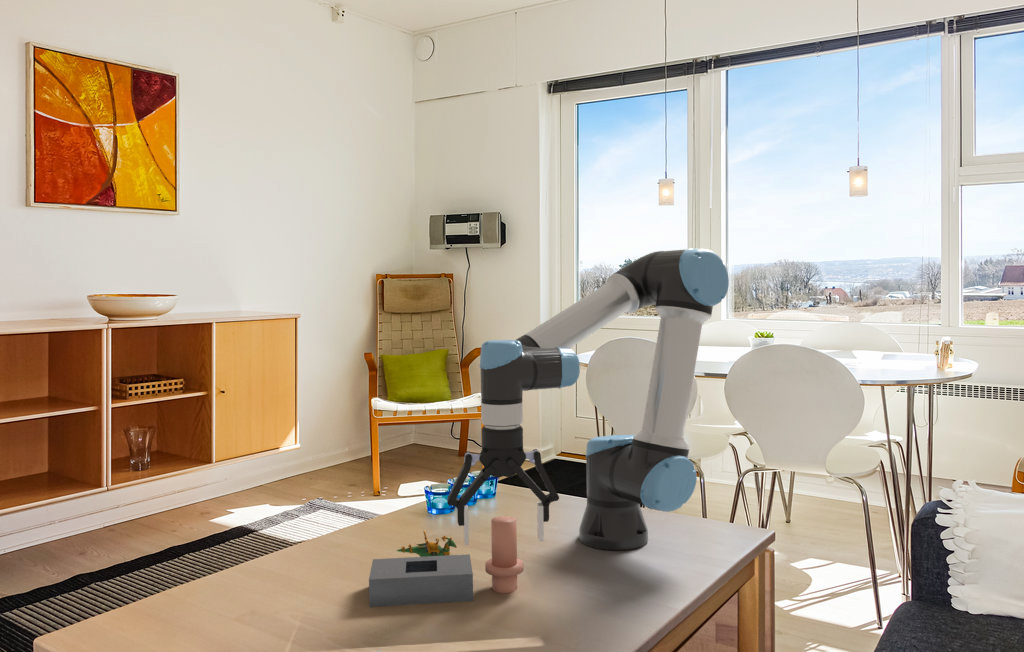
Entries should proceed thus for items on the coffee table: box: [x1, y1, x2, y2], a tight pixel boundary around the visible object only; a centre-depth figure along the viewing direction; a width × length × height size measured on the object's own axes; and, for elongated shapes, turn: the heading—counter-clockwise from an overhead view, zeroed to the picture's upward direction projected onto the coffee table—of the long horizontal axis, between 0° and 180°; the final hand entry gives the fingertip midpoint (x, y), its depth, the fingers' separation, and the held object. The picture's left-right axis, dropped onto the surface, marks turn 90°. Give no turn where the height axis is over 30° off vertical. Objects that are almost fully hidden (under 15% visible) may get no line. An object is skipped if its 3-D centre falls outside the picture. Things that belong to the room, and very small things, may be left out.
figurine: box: [396, 530, 458, 557], centre depth 152 cm, size 3×12×8 cm, turn 103°
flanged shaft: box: [484, 515, 525, 594], centre depth 140 cm, size 7×7×14 cm
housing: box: [368, 553, 474, 608], centre depth 138 cm, size 18×10×6 cm, turn 96°
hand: (503, 541), depth 140 cm, fingers open, 13 cm apart
